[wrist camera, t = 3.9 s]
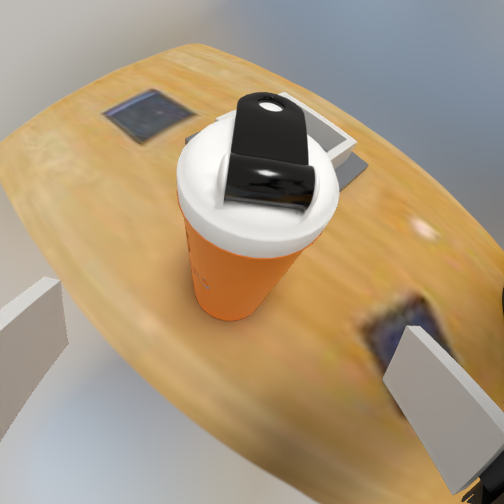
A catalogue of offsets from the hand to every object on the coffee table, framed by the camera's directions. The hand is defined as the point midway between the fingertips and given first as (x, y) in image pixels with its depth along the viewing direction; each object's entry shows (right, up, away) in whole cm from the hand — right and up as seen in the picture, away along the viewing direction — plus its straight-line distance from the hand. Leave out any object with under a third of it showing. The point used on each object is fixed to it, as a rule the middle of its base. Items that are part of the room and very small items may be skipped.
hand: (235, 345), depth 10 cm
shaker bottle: (-2, -1, +21) cm, 21 cm away
